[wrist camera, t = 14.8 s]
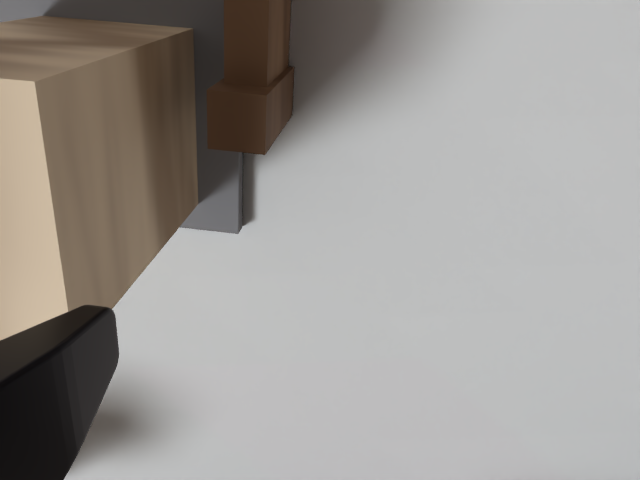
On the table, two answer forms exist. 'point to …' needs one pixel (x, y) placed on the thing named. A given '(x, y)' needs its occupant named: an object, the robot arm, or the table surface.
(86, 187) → the block
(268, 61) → the wooden frame
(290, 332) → the table surface
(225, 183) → the panel
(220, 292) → the table surface
